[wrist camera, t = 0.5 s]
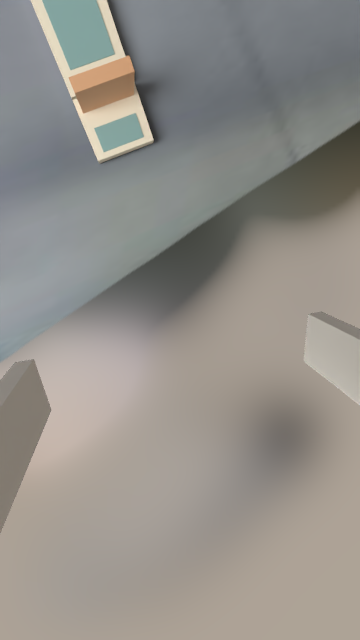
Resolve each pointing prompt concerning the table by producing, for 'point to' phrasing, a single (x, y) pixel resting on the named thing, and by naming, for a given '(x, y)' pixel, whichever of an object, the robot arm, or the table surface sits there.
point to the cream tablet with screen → (79, 35)
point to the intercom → (111, 109)
